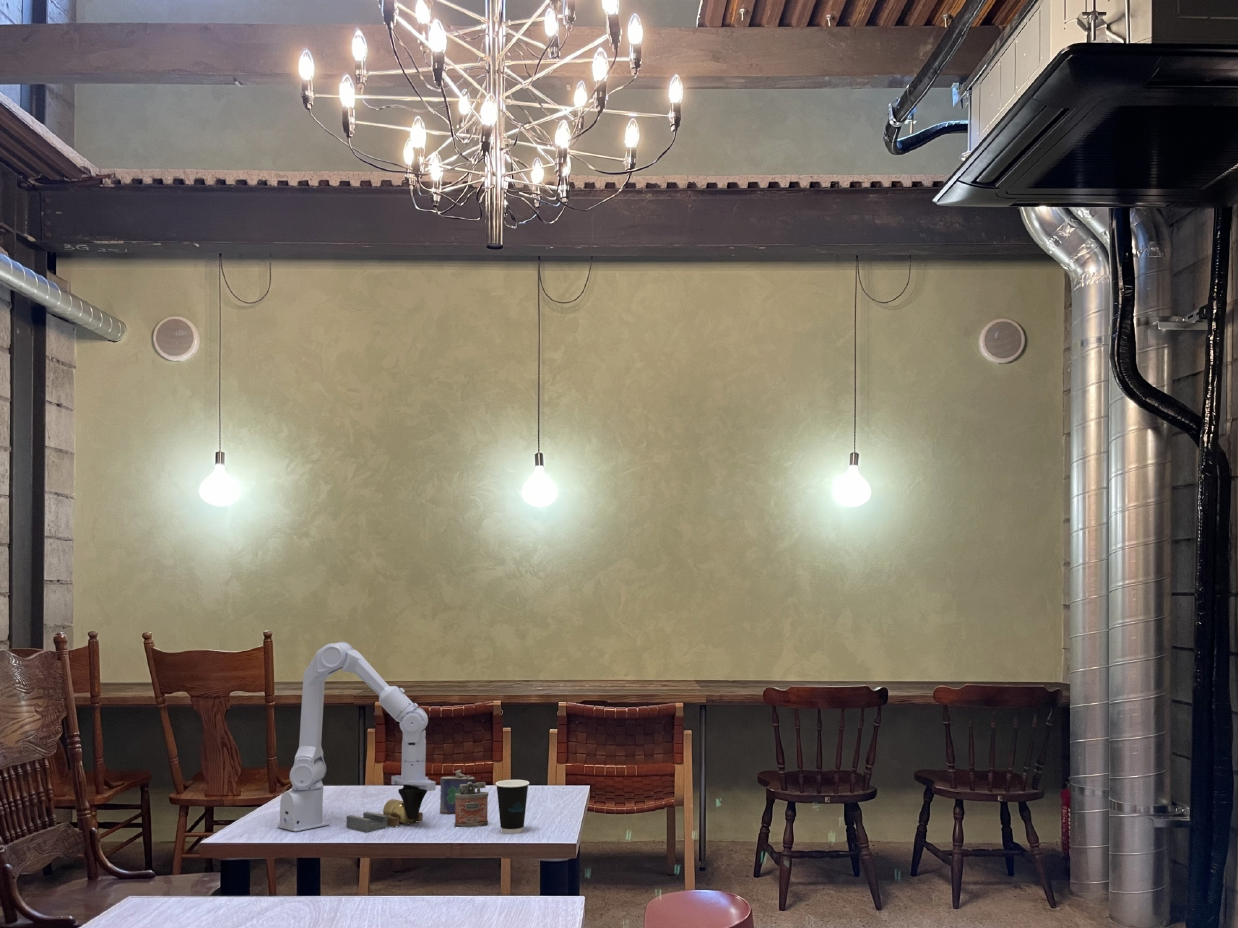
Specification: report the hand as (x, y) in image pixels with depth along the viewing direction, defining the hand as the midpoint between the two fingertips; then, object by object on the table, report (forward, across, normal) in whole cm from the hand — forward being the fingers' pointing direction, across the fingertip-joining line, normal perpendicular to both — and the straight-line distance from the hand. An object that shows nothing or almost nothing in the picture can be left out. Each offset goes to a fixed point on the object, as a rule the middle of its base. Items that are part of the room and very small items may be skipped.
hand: (412, 818), depth 242 cm
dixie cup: (+2, -24, -11) cm, 26 cm away
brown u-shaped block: (+2, +5, 0) cm, 6 cm away
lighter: (+2, -12, -9) cm, 15 cm away
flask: (+2, +2, -16) cm, 16 cm away
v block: (+2, +6, +8) cm, 11 cm away
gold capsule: (+2, +5, 0) cm, 6 cm away
